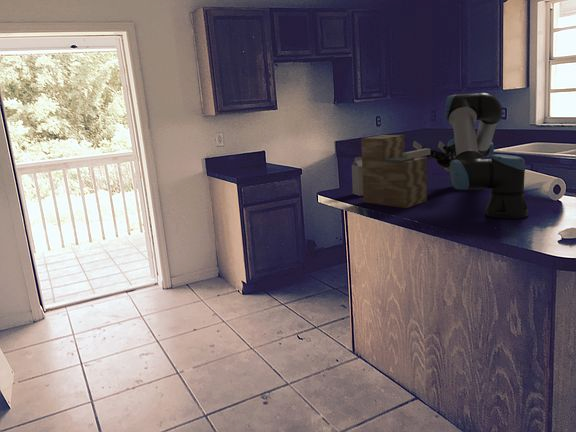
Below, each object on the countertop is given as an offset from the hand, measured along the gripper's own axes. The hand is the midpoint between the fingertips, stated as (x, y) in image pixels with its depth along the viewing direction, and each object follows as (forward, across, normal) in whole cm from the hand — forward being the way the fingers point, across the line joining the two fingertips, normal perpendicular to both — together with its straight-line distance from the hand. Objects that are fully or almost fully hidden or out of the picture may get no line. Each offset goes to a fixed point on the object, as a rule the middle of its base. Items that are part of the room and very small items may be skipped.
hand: (426, 143), depth 233 cm
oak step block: (+3, +6, -30) cm, 31 cm away
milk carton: (-3, +31, -27) cm, 41 cm away
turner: (+9, 0, -11) cm, 14 cm away
